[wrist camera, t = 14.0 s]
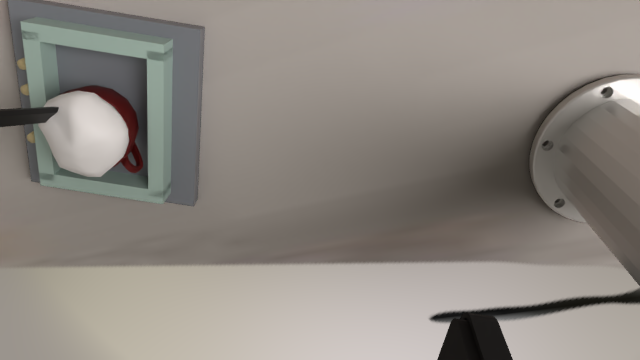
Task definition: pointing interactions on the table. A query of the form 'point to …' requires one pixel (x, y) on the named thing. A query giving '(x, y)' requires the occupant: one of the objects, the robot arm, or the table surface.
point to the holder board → (125, 78)
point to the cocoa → (85, 129)
